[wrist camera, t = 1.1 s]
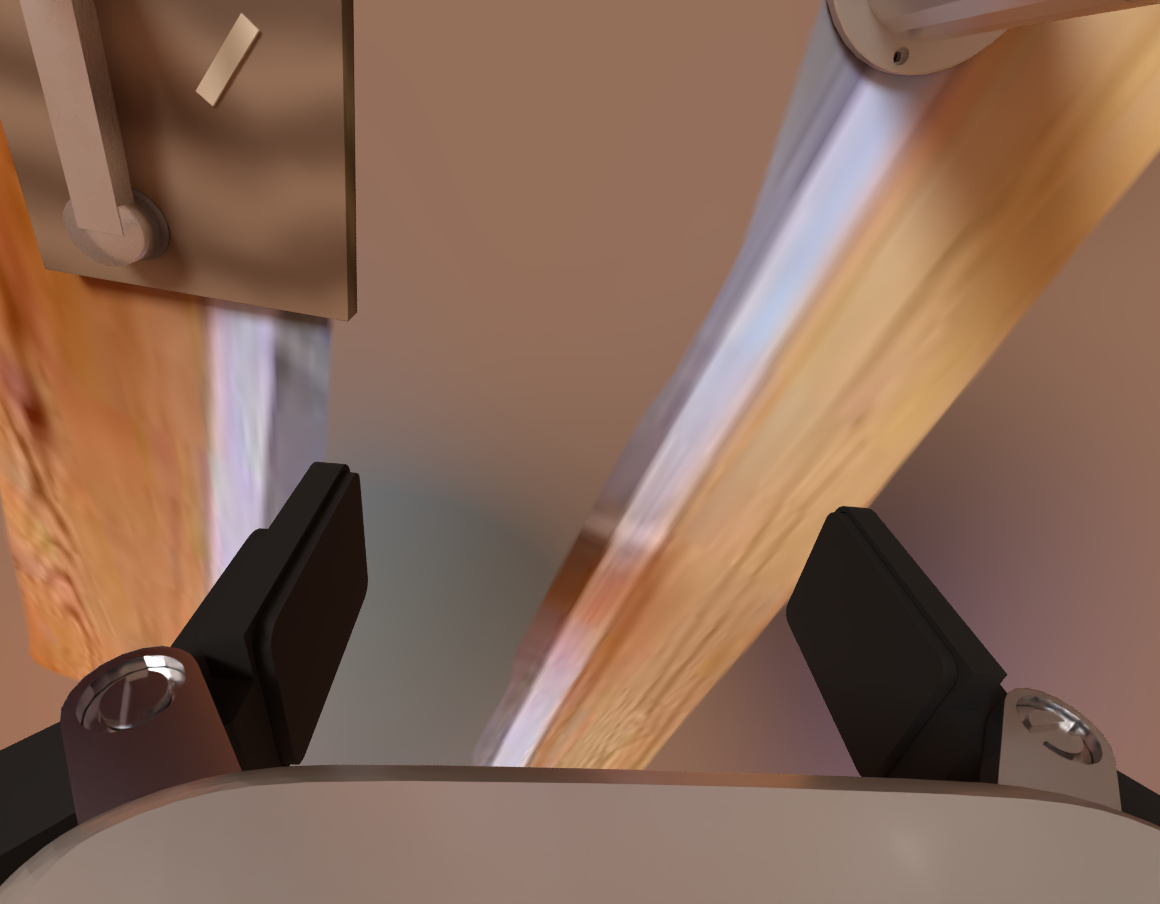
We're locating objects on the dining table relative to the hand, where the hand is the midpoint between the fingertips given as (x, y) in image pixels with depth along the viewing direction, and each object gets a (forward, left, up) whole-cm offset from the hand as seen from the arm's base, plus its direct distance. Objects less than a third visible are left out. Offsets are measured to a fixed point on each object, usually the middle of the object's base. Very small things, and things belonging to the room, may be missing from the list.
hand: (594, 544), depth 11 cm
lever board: (-3, -24, -32) cm, 39 cm away
